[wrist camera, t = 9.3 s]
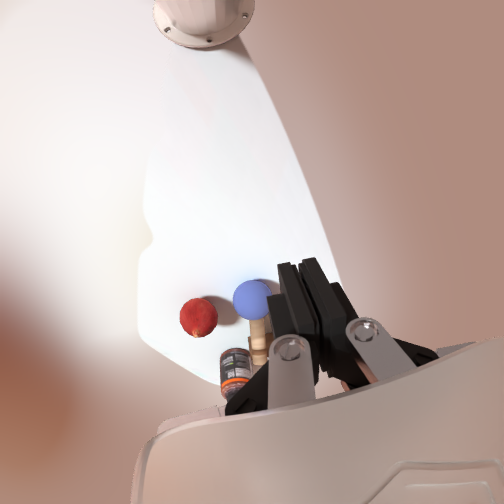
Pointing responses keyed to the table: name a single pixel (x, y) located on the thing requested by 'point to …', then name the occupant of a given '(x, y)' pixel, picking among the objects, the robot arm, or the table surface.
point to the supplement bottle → (234, 371)
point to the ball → (251, 300)
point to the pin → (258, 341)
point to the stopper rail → (269, 341)
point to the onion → (198, 317)
